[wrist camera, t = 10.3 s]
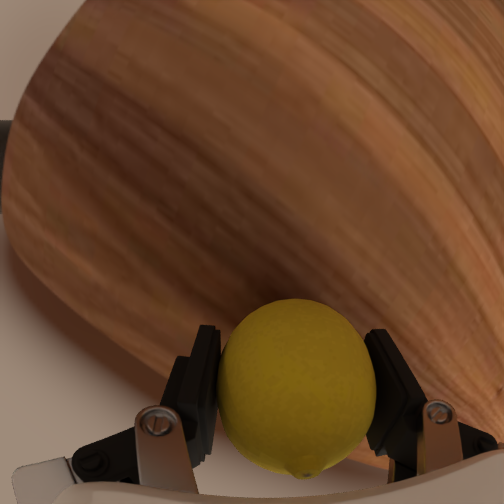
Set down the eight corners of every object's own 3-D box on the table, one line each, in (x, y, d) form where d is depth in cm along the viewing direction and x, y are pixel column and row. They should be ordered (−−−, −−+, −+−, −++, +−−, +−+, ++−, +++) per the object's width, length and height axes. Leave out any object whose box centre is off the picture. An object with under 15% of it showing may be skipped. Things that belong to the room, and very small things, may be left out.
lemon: (366, 302, 13) (442, 434, 5) (299, 379, 15) (317, 512, 7) (268, 243, 12) (282, 386, 5) (206, 336, 14) (171, 482, 6)
